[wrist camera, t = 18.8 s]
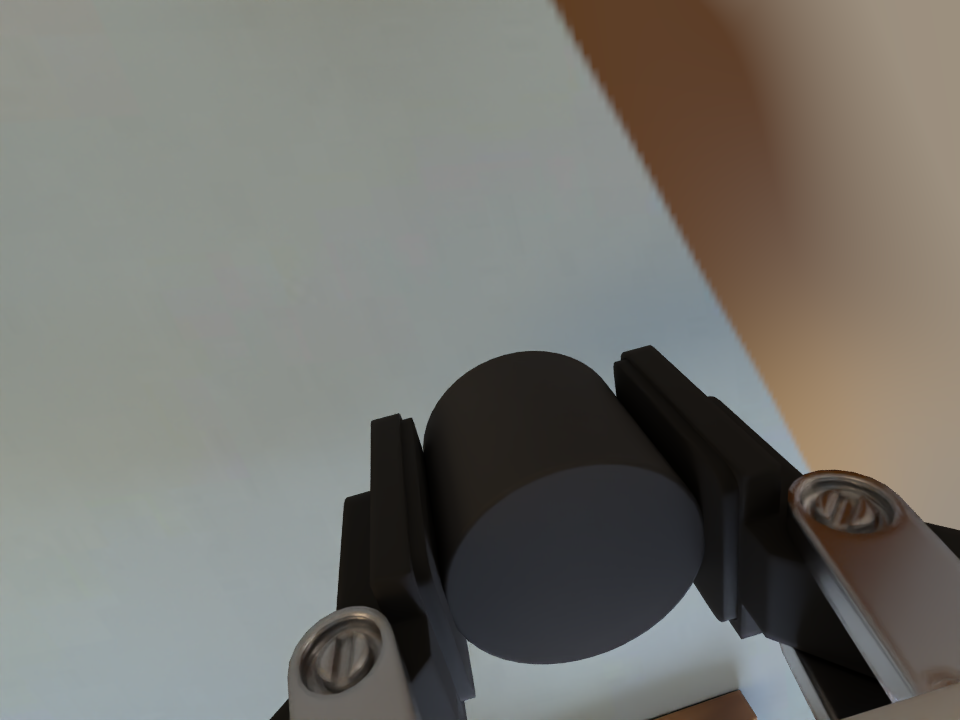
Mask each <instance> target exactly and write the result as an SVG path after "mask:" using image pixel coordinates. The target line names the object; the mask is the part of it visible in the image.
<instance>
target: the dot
mask: <svg viewBox="0 0 960 720" xmlns="http://www.w3.org/2000/svg"><path fill="white" fill-rule="evenodd" d="M423 453H424V458H425V465H426V473H427V480H428V487H429V494H430V502H431V509H432V516H433V523H434V530H435V538H436V545H437V552H438V559H439V567H440V574H441V581H442V586H443V590H444V594H445V597H446V600H447V603H448V606H449V609H450V611H451V614H452V617H453V620H454V623H455V625H456V627H457V629H458V630H459V632H460V633H461V634H462V635H463V636H464V637H465V638H466V639H467V640H468V641H469V642H471V643H472V644H474V645H475V646H476V647H478V648H479V649H481V650H483V651H485V652H487V653H489V654H491V655H493V656H496V657H499V658H502V659H505V660H509V661H514V662H518V663H527V664H557V663H566V662H572V661H578V660H582V659H586V658H590V657H593V656H596V655H599V654H602V653H605V652H608V651H610V650H613V649H615V648H617V647H619V646H622V645H624V644H626V643H627V642H629V641H631V640H633V639H635V638H637V637H638V636H640V635H641V634H643V633H644V632H646V631H647V630H649V629H650V628H652V627H653V626H654V625H655V624H657V623H658V622H659V621H660V620H662V619H663V618H664V617H665V616H666V615H667V614H668V613H669V612H670V611H671V610H672V609H673V608H674V607H675V606H676V605H677V604H678V602H679V601H680V600H681V599H682V598H683V597H684V595H685V594H686V592H687V591H688V589H689V588H690V586H691V585H692V583H693V581H694V579H695V577H696V576H697V574H698V571H699V569H700V566H701V563H702V561H703V556H704V550H705V540H704V518H703V514H702V511H701V507H700V505H699V503H698V501H697V499H696V498H695V496H694V494H693V493H692V492H691V491H690V489H689V488H688V487H687V486H686V484H685V483H684V482H683V481H682V479H681V478H680V477H679V475H678V474H677V473H676V472H675V470H674V469H673V468H672V467H671V465H670V464H669V463H668V462H667V460H666V459H665V458H664V456H663V455H662V454H661V453H660V451H659V450H658V449H657V448H656V446H655V445H654V444H653V443H652V441H651V440H650V439H649V438H648V436H647V435H646V434H645V432H644V431H643V430H642V429H641V427H640V426H639V425H638V424H637V422H636V421H635V420H634V419H633V417H632V416H631V415H630V413H629V412H628V411H627V410H626V408H625V407H624V406H623V405H622V403H621V402H620V401H619V400H618V398H617V397H616V396H615V394H614V393H613V392H612V391H611V389H610V388H609V387H608V386H607V384H606V383H605V382H604V381H603V379H602V378H601V377H600V376H599V375H598V374H597V373H596V372H595V371H594V370H592V369H591V368H590V367H588V366H587V365H585V364H584V363H582V362H580V361H578V360H576V359H573V358H571V357H568V356H565V355H562V354H558V353H552V352H545V351H525V352H516V353H511V354H507V355H503V356H500V357H497V358H494V359H491V360H489V361H487V362H484V363H482V364H480V365H478V366H477V367H475V368H473V369H472V370H470V371H468V372H467V373H466V374H464V375H463V376H462V377H461V378H459V379H458V380H457V381H456V382H455V383H454V384H453V385H452V386H451V387H450V388H449V389H448V390H447V391H446V392H445V393H444V395H443V396H442V397H441V399H440V400H439V401H438V403H437V404H436V406H435V408H434V410H433V411H432V413H431V416H430V418H429V421H428V423H427V426H426V430H425V434H424V443H423Z"/></svg>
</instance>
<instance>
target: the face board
mask: <svg viewBox="0 0 960 720" xmlns="http://www.w3.org/2000/svg"><path fill="white" fill-rule="evenodd" d="M653 720H757V716H756V714H755V713H754V711H753V710H752V708H751V707H750V705H749V704H748V702H747V700H746V699H745V697H744V696H743V694H742V693H741V691H740V690H737V691H734V692H731V693H729V694H726V695H723V696H720V697H717V698H714V699H711V700H708V701H705V702H702V703H700V704H697V705H694V706H691V707H688V708H685V709H682V710H679V711H676V712H674V713H671V714H668V715H665V716H662V717H659V718H656V719H653Z"/></svg>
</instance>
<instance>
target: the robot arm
mask: <svg viewBox="0 0 960 720" xmlns="http://www.w3.org/2000/svg"><path fill="white" fill-rule="evenodd" d="M613 368H614V378H615V388H616V397H617V398H618V400H619V401H620V402H621V403H622V405H623V406H624V407H625V408H626V410H627V411H628V412H629V413H630V415H631V416H632V417H633V419H634V420H635V421H636V422H637V424H638V425H639V426H640V427H641V429H642V430H643V431H644V432H645V434H646V435H647V436H648V438H649V439H650V440H651V441H652V443H653V444H654V445H655V446H656V448H657V449H658V450H659V451H660V453H661V454H662V455H663V456H664V458H665V459H666V460H667V462H668V463H669V464H670V465H671V467H672V468H673V469H674V470H675V472H676V473H677V474H678V475H679V477H680V478H681V479H682V481H683V482H684V483H685V484H686V486H687V487H688V488H689V489H690V491H691V492H692V493H693V494H694V496H695V498H696V499H697V501H698V503H699V505H700V507H701V511H702V514H703V518H704V540H705V550H704V556H703V561H702V563H701V566H700V569H699V571H698V574H697V576H696V577H695V579H694V581H693V583H694V584H695V586H696V588H697V589H698V591H699V592H700V594H701V595H702V597H703V598H704V600H705V601H706V603H707V605H708V606H709V608H710V609H711V611H712V612H713V614H714V615H715V617H716V618H717V619H718V620H719V621H721V622H724V621H727V620H729V621H730V623H731V624H732V626H733V627H734V629H735V630H736V632H737V633H738V635H739V636H740V638H741V639H744V638H747V637H750V636H754V635H757V634H760V633H763V634H764V635H765V637H766V638H769V639H772V640H774V641H777V642H779V644H780V647H781V650H782V653H783V655H784V657H785V659H786V661H787V663H788V665H789V667H790V669H791V671H792V673H793V675H794V677H795V679H796V681H797V683H798V685H799V687H800V689H801V691H802V693H803V695H804V697H805V699H806V701H807V703H808V705H809V707H810V709H811V711H812V713H813V715H814V717H815V719H816V720H960V530H956V529H951V528H947V527H943V526H939V525H934V524H930V523H925V522H923V521H922V519H921V518H920V517H919V516H918V515H917V514H916V513H915V512H914V511H913V510H912V509H911V508H910V507H909V505H907V503H906V502H905V501H904V500H903V499H902V498H901V497H900V496H899V495H898V494H896V493H895V492H894V491H893V490H892V489H890V488H889V487H888V486H886V485H885V484H882V483H881V482H879V481H877V480H875V479H873V478H870V477H867V476H864V475H861V474H858V473H854V472H848V471H841V470H820V471H815V472H811V473H807V474H804V475H802V474H801V473H800V472H799V471H798V470H797V469H796V468H794V467H793V466H792V465H791V464H790V463H789V462H788V461H787V460H786V459H784V458H783V457H782V456H781V455H780V454H779V453H778V452H777V451H776V450H774V449H773V448H772V447H771V446H770V445H769V444H768V443H767V442H766V441H764V440H763V439H762V438H761V437H760V436H759V435H758V434H757V433H756V432H754V431H753V430H752V429H751V428H750V427H749V426H748V425H747V424H746V423H744V422H743V421H742V420H741V419H740V418H739V417H738V416H737V415H736V414H734V413H733V412H732V411H731V410H730V409H729V408H728V407H727V406H726V405H724V404H723V403H722V402H721V401H720V400H718V399H717V398H715V397H711V396H709V397H707V396H706V395H705V394H704V393H703V392H702V391H701V390H700V389H699V388H697V387H696V386H695V385H694V384H693V383H692V382H691V381H690V380H689V379H688V378H687V377H686V376H684V375H683V374H682V373H681V372H680V371H679V370H678V369H677V368H676V367H675V366H674V365H673V364H671V363H670V362H669V361H668V360H667V359H666V358H665V357H664V356H663V355H662V354H661V353H660V352H658V351H657V350H656V349H655V348H654V347H653V346H651V345H648V346H645V347H641V348H637V349H634V350H630V351H626V352H623V353H622V354H621V361H617V362H615V363H614V366H613ZM288 694H289V699H288V700H287V701H286V702H285V703H284V704H283V705H282V706H281V708H280V709H279V710H278V711H277V712H276V713H275V714H274V716H273V717H272V718H271V719H270V720H467V716H466V709H465V703H464V701H465V700H468V699H472V698H475V688H474V682H473V676H472V670H471V664H470V658H469V652H468V646H467V640H466V638H465V637H464V636H463V635H462V634H461V633H460V632H459V630H458V629H457V627H456V625H455V623H454V620H453V617H452V614H451V611H450V609H449V606H448V603H447V600H446V597H445V594H444V590H443V586H442V581H441V574H440V567H439V559H438V552H437V545H436V538H435V530H434V523H433V516H432V509H431V502H430V494H429V487H428V480H427V473H426V465H425V458H424V453H423V450H422V446H421V443H420V440H419V437H418V434H417V431H416V428H415V424H414V422H413V419H412V418H408V419H404V420H402V418H401V415H400V414H399V413H398V414H394V415H391V416H387V417H383V418H380V419H376V420H372V421H371V480H370V491H368V492H365V493H361V494H358V495H354V496H350V497H347V498H346V499H345V502H344V511H343V525H342V539H341V553H340V567H339V581H338V595H337V609H336V611H334V612H333V613H331V614H329V615H327V616H326V617H324V618H322V619H321V620H319V621H318V622H317V623H316V624H315V625H314V626H312V627H311V628H310V629H309V630H308V631H307V632H306V633H305V635H304V636H303V637H302V639H301V640H300V641H299V643H298V644H297V646H296V647H295V650H294V652H293V654H292V657H291V659H290V662H289V669H288Z"/></svg>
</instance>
